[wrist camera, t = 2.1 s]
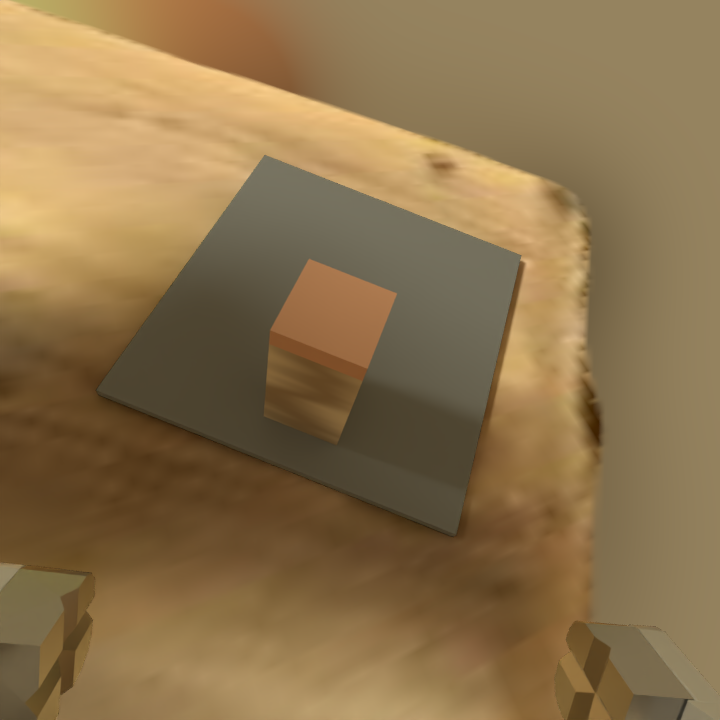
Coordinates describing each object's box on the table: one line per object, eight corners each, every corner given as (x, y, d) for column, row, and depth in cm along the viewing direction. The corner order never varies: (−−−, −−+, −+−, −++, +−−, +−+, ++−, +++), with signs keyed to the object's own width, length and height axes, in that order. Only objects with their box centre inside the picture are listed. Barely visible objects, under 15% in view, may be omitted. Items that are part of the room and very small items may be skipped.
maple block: (263, 416, 27) (270, 330, 20) (293, 355, 29) (309, 258, 22) (336, 445, 27) (367, 368, 20) (361, 381, 29) (397, 293, 22)
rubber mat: (98, 394, 27) (95, 390, 26) (264, 160, 37) (264, 154, 37) (452, 536, 26) (456, 534, 26) (518, 260, 37) (521, 255, 36)
